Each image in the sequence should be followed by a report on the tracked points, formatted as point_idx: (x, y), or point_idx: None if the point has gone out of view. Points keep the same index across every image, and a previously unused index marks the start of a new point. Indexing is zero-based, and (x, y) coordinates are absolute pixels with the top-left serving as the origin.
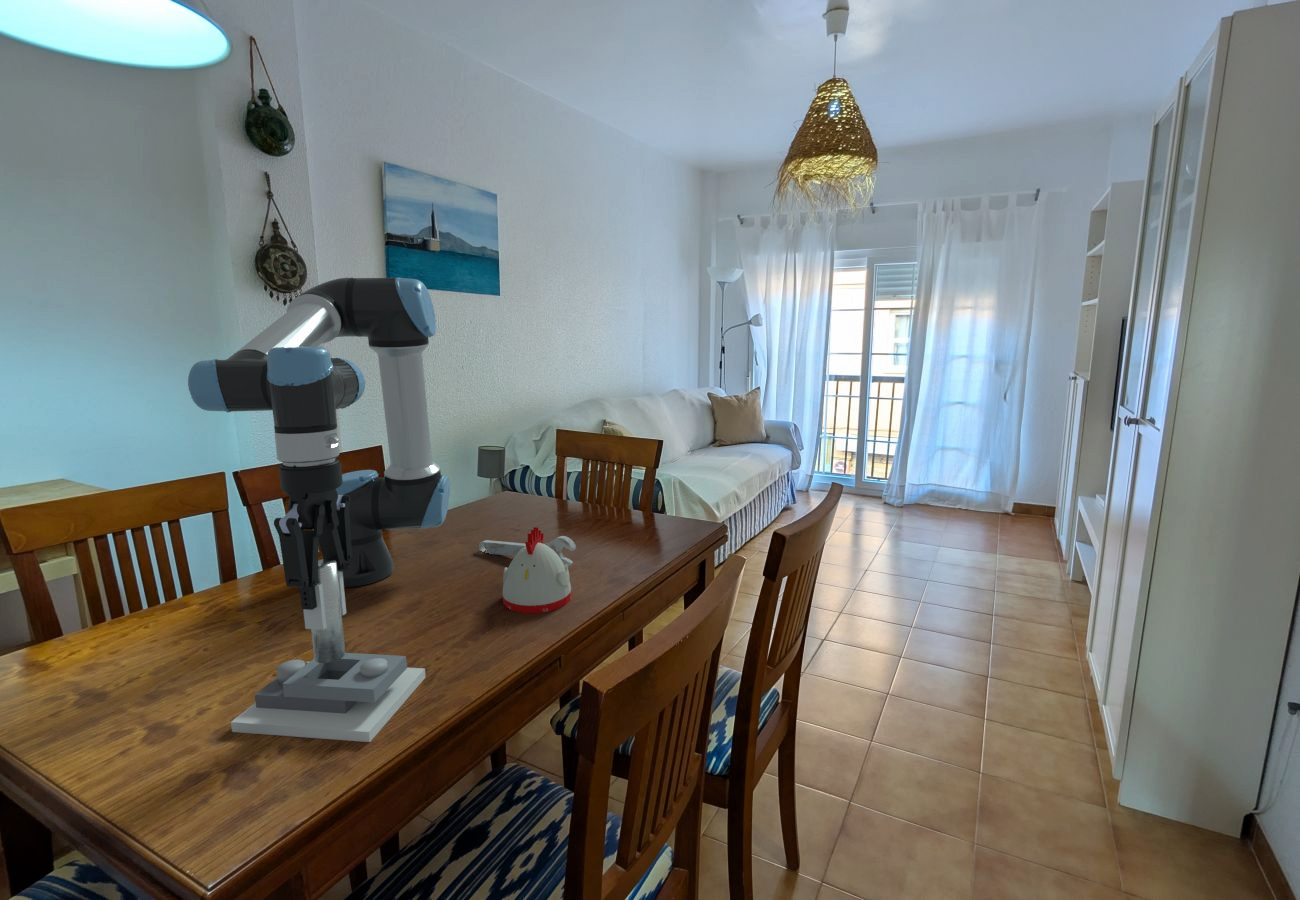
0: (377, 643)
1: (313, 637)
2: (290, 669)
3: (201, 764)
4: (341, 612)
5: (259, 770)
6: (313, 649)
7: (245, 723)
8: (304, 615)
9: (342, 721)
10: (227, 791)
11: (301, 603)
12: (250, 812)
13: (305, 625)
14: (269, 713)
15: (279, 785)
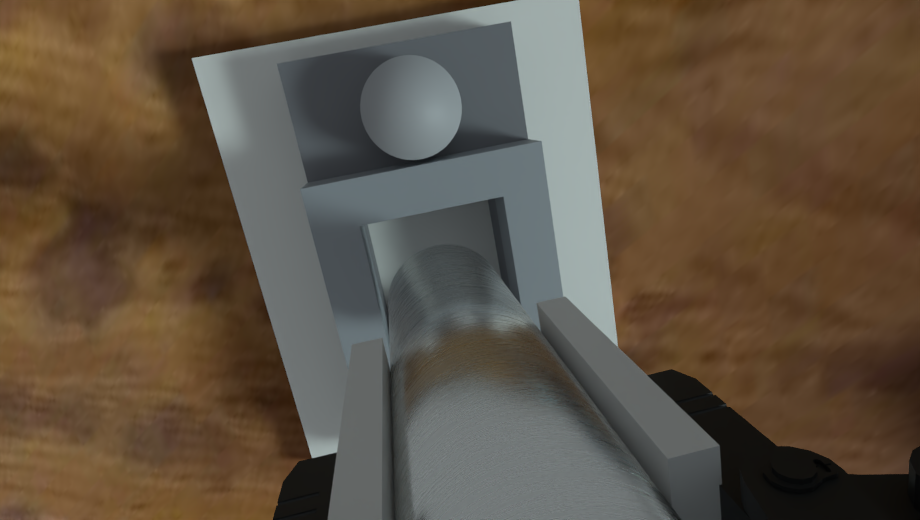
0: (769, 104)
1: (393, 321)
2: (389, 131)
3: (58, 116)
4: None
5: (120, 296)
6: (401, 281)
7: (209, 113)
8: (347, 385)
9: (328, 385)
10: (26, 290)
11: (280, 498)
12: (9, 405)
13: (352, 353)
14: (278, 144)
15: (106, 389)
